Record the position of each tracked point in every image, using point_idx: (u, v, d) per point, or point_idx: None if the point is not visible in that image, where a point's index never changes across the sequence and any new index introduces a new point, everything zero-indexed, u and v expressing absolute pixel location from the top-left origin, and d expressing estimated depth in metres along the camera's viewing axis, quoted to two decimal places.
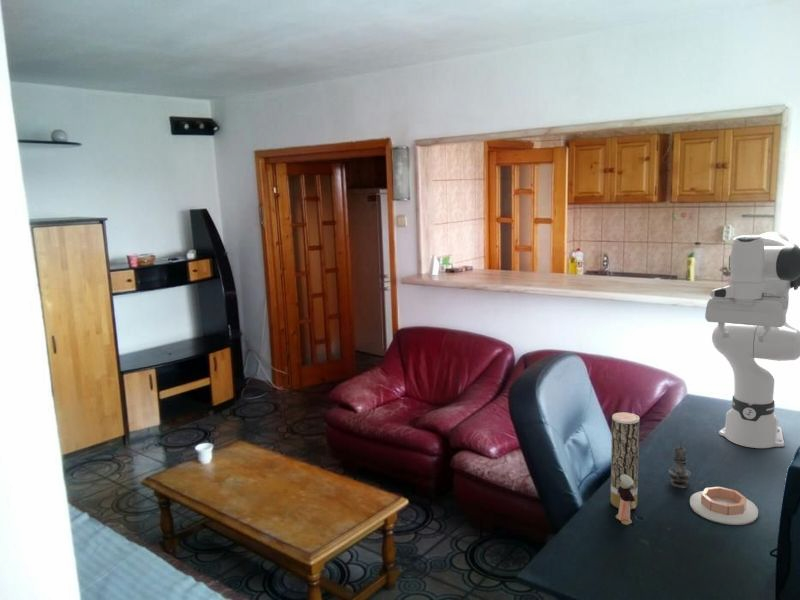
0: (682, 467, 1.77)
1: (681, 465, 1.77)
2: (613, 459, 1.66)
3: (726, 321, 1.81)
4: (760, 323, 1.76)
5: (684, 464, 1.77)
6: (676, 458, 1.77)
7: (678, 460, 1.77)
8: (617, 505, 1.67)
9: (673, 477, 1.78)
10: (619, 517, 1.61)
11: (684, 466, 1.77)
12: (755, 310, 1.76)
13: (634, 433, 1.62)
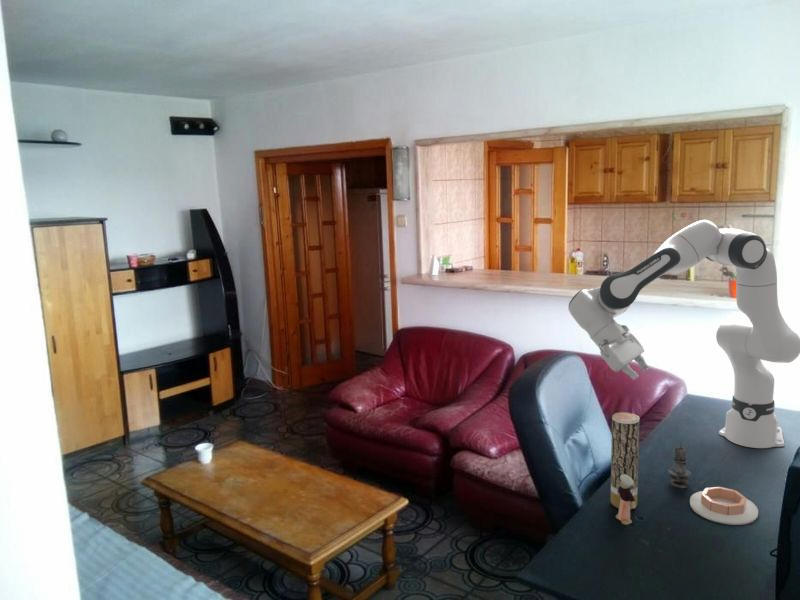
0: (682, 467, 1.77)
1: (681, 465, 1.77)
2: (613, 459, 1.66)
3: None
4: None
5: (684, 464, 1.77)
6: (676, 458, 1.77)
7: (678, 460, 1.77)
8: (617, 505, 1.67)
9: (673, 477, 1.78)
10: (619, 517, 1.61)
11: (684, 466, 1.77)
12: None
13: (634, 433, 1.62)
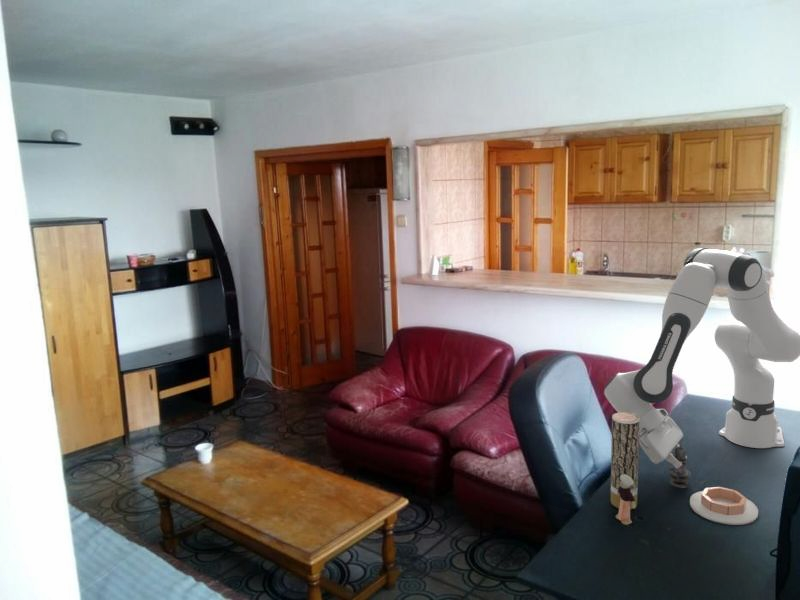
0: (682, 467, 1.77)
1: (681, 465, 1.77)
2: (613, 459, 1.66)
3: None
4: None
5: (684, 464, 1.77)
6: (676, 458, 1.77)
7: None
8: (617, 505, 1.67)
9: (673, 477, 1.78)
10: (619, 517, 1.61)
11: (684, 466, 1.77)
12: None
13: (634, 433, 1.62)
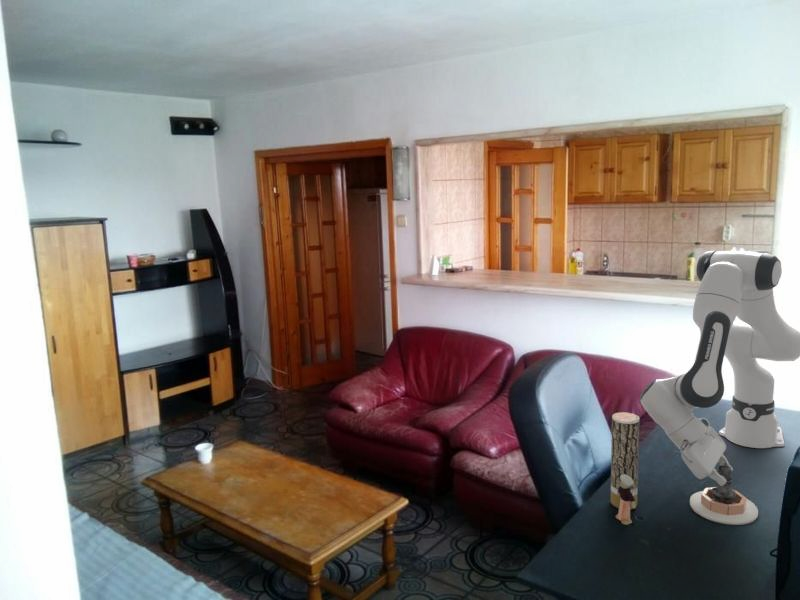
0: (727, 487, 1.63)
1: (725, 485, 1.63)
2: (613, 459, 1.66)
3: None
4: None
5: (729, 484, 1.63)
6: None
7: None
8: (617, 505, 1.67)
9: (716, 498, 1.64)
10: (619, 517, 1.61)
11: (729, 486, 1.63)
12: None
13: (634, 433, 1.63)
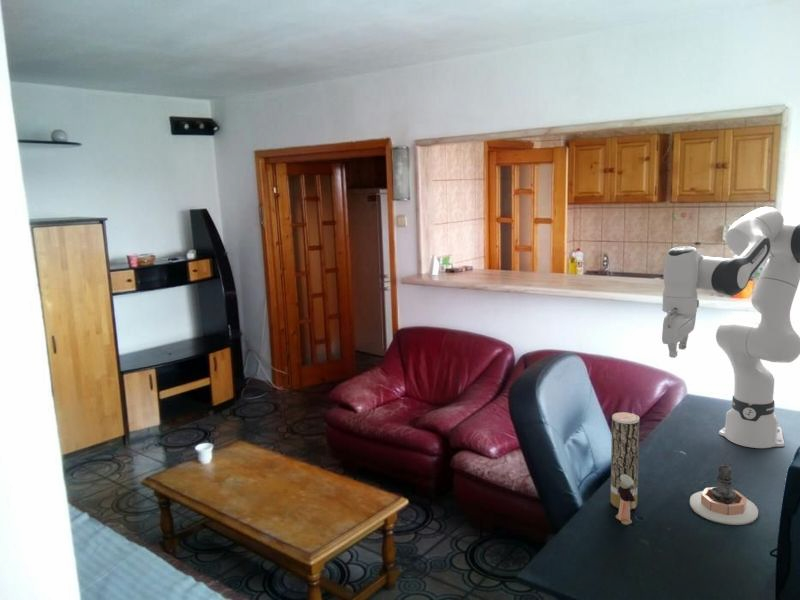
0: (727, 487, 1.63)
1: (725, 485, 1.63)
2: (613, 459, 1.66)
3: None
4: None
5: (729, 484, 1.63)
6: (720, 477, 1.63)
7: (722, 479, 1.63)
8: (617, 505, 1.67)
9: (716, 498, 1.64)
10: (619, 517, 1.61)
11: (729, 486, 1.63)
12: None
13: (634, 433, 1.62)
